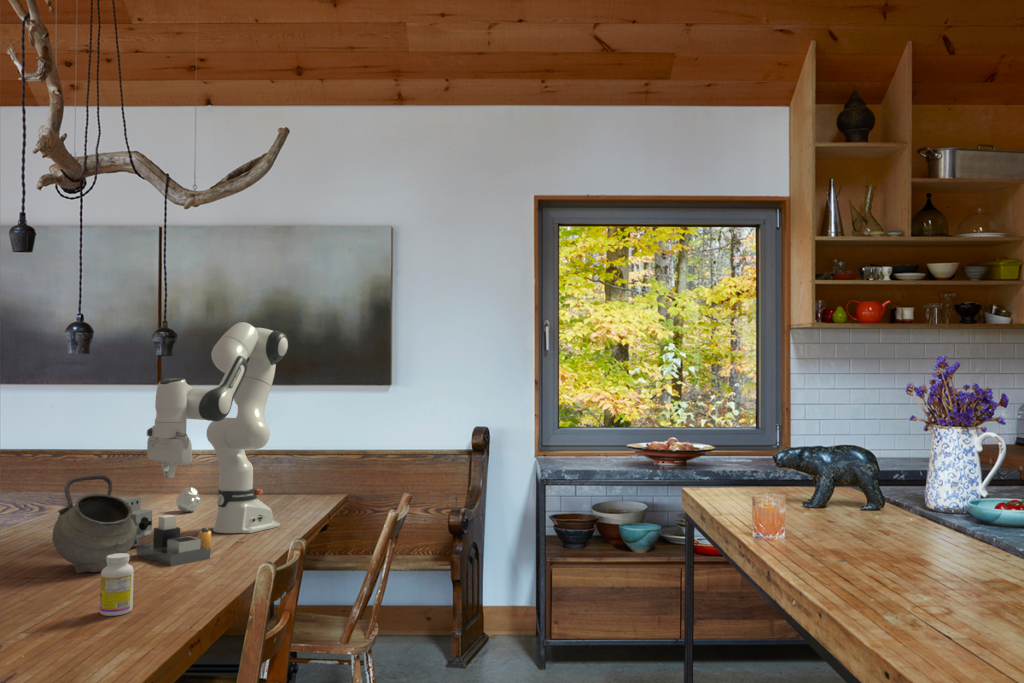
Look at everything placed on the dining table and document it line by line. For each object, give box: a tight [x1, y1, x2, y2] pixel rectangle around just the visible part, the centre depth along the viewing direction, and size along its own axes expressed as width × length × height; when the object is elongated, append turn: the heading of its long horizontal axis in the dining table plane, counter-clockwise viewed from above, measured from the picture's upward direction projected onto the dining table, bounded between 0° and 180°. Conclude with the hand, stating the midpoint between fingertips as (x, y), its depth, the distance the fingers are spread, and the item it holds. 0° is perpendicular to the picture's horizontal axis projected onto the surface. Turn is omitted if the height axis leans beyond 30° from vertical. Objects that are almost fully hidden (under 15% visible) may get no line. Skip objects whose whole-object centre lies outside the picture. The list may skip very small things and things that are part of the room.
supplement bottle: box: [99, 552, 135, 617], centre depth 173 cm, size 7×7×13 cm
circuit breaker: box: [117, 496, 153, 548], centre depth 237 cm, size 8×14×15 cm, turn 78°
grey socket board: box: [136, 526, 211, 567], centre depth 226 cm, size 12×20×8 cm, turn 52°
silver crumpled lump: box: [175, 486, 202, 513], centre depth 299 cm, size 9×10×10 cm
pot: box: [51, 473, 136, 574], centre depth 213 cm, size 21×21×25 cm
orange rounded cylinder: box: [198, 527, 212, 552], centre depth 234 cm, size 4×4×7 cm
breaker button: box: [157, 514, 177, 530], centre depth 229 cm, size 4×4×5 cm
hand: (168, 477), depth 229 cm, fingers closed
